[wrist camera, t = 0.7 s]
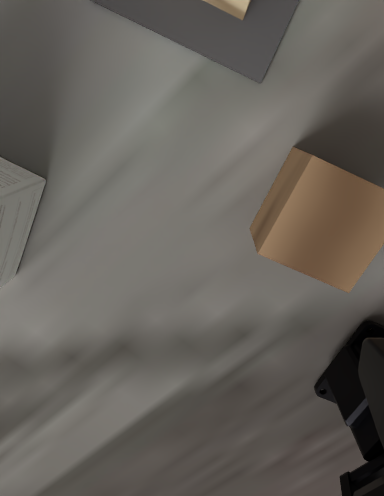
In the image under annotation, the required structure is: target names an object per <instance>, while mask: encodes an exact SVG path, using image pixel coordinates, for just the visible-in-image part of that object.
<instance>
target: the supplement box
mask: <svg viewBox="0 0 384 496" xmlns="http://www.w3.org/2000/svg"><path fill="white" fill-rule="evenodd" d="M45 183H46V180H45V179H44V178H42V177H40V176H38V175H36V174H34V173H32V172H30V171H28V170H26V169H24V168H22V167H20V166H18V165H16V164H14V163H11V162H9V161H7V160H5V159H4V158H2V157H0V288H1V287H3V286H4V285H5V284H6V283H7V282H9V281H10V280H11V279H12V278H14V277H15V275H16V272H17V269H18V266H19V263H20V260H21V257H22V254H23V251H24V248H25V245H26V242H27V239H28V236H29V233H30V229H31V226H32V223H33V220H34V217H35V214H36V211H37V208H38V204H39V201H40V198H41V195H42V192H43V189H44V186H45Z"/></svg>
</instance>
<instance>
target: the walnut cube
mask: <svg viewBox="0 0 384 496" xmlns="http://www.w3.org/2000/svg"><path fill="white" fill-rule="evenodd" d="M250 231H251V234H252V237H253V240H254V243H255V247H256V250H257V253H258V254H259V255H262V256H264V257H266V258H269V259H271V260H273V261H276V262H278V263H280V264H283V265H285V266H287V267H290V268H292V269H294V270H297V271H299V272H301V273H303V274H306V275H308V276H310V277H313V278H315V279H317V280H320V281H322V282H324V283H327V284H329V285H331V286H334V287H336V288H338V289H341V290H343V291H345V292H347V293H349V292H350V291H351V289H352V288H353V286H354V285H355V283H356V282H357V281H358V279H359V278H360V276H361V275H362V274H363V272H364V271H365V269H366V268H367V267H368V265H369V264H370V262H371V261H372V260H373V258H374V257H375V255H376V254H377V253H378V251H379V250H380V248H381V247H382V246H383V244H384V189H383V188H381V187H379V186H377V185H375V184H373V183H371V182H368V181H366V180H364V179H362V178H360V177H358V176H356V175H354V174H352V173H349V172H347V171H345V170H343V169H341V168H339V167H337V166H335V165H332V164H330V163H328V162H326V161H324V160H322V159H320V158H318V157H316V156H313V155H311V154H309V153H306V152H304V151H302V150H299V149H297V148H295V147H293V148H292V149H291V151H290V153H289V155H288V157H287V159H286V161H285V163H284V164H283V166H282V168H281V170H280V172H279V174H278V176H277V178H276V180H275V181H274V183H273V185H272V187H271V189H270V191H269V193H268V195H267V196H266V198H265V200H264V202H263V204H262V206H261V208H260V210H259V212H258V213H257V215H256V217H255V219H254V221H253V223H252V225H251V227H250Z"/></svg>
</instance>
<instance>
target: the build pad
mask: <svg viewBox="0 0 384 496" xmlns="http://www.w3.org/2000/svg"><path fill="white" fill-rule="evenodd" d="M91 1H93V2H95V3H97V4H99V5H101V6H103V7H105V8H107V9H109V10H111V11H113V12H116V13H118V14H120V15H122V16H124V17H126V18H128V19H130V20H132V21H134V22H136V23H138V24H140V25H142V26H144V27H146V28H148V29H150V30H152V31H154V32H156V33H158V34H160V35H162V36H164V37H167V38H169V39H171V40H173V41H175V42H177V43H179V44H181V45H183V46H185V47H187V48H189V49H191V50H193V51H195V52H197V53H199V54H201V55H203V56H205V57H207V58H209V59H211V60H213V61H215V62H218V63H220V64H222V65H224V66H226V67H228V68H230V69H232V70H234V71H236V72H238V73H240V74H242V75H244V76H246V77H248V78H250V79H252V80H254V81H256V82H258V83H261V82H262V80H263V77H264V75H265V73H266V71H267V69H268V67H269V64H270V62H271V60H272V58H273V56H274V54H275V51H276V49H277V47H278V45H279V43H280V41H281V39H282V36H283V34H284V32H285V30H286V28H287V26H288V23H289V21H290V19H291V17H292V15H293V13H294V10H295V8H296V6H297V4H298V2H299V0H251V2H250V4H249V7H248V9H247V11H246V14H245V16H244V19H243V20H241V19H239V18H237V17H235V16H233V15H231V14H229V13H227V12H225V11H223V10H221V9H219V8H217V7H215V6H213V5H211V4H209V3H207V2H205V1H203V0H91Z"/></svg>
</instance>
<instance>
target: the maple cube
mask: <svg viewBox="0 0 384 496" xmlns="http://www.w3.org/2000/svg"><path fill="white" fill-rule="evenodd" d="M203 1H205V2H207V3H209V4H211V5H213V6H215V7H217V8H219V9H221V10H223V11H225V12H227V13H229V14H231V15H233V16H235V17H237V18H239V19H241V20H243V19H244V16H245V14H246V11H247V9H248V7H249V4H250V2H251V0H203Z"/></svg>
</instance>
